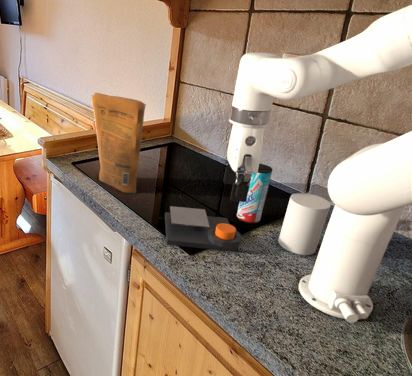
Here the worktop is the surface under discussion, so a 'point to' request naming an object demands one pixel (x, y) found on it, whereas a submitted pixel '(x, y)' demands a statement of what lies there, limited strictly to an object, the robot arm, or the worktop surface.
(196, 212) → the weighing pan
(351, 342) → the worktop surface
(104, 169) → the pancake mix bag
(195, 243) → the scale
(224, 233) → the button
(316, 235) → the cup
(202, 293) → the worktop surface
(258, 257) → the worktop surface
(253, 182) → the beverage can
